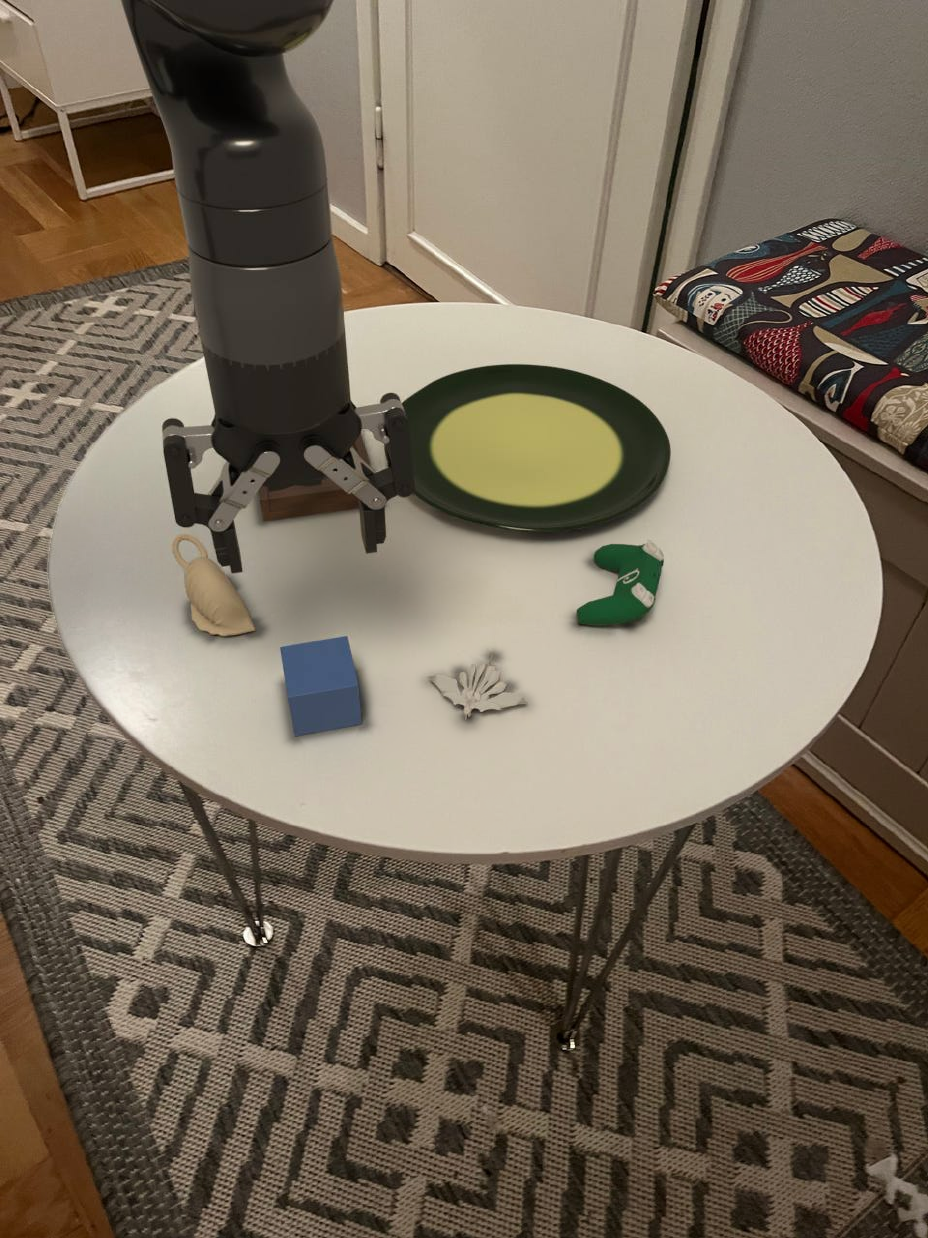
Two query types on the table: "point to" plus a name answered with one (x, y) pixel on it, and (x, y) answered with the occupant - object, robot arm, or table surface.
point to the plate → (533, 448)
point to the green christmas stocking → (625, 584)
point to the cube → (321, 685)
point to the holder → (309, 496)
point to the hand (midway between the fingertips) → (304, 554)
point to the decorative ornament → (212, 594)
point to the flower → (477, 690)
